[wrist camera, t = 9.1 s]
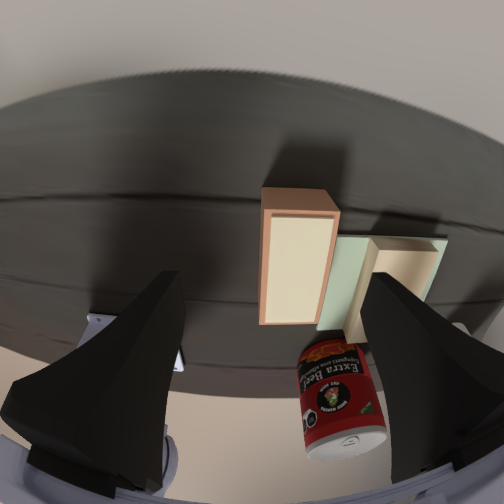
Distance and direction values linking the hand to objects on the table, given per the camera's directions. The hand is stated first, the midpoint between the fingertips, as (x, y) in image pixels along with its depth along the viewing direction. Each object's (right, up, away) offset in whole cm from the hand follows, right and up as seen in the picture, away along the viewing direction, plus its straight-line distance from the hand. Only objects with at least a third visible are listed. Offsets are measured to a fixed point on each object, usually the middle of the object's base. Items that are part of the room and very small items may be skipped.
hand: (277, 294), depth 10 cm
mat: (+11, -1, +13) cm, 17 cm away
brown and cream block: (+2, +2, +11) cm, 11 cm away
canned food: (+8, -10, +19) cm, 23 cm away
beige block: (+11, -2, +13) cm, 17 cm away
